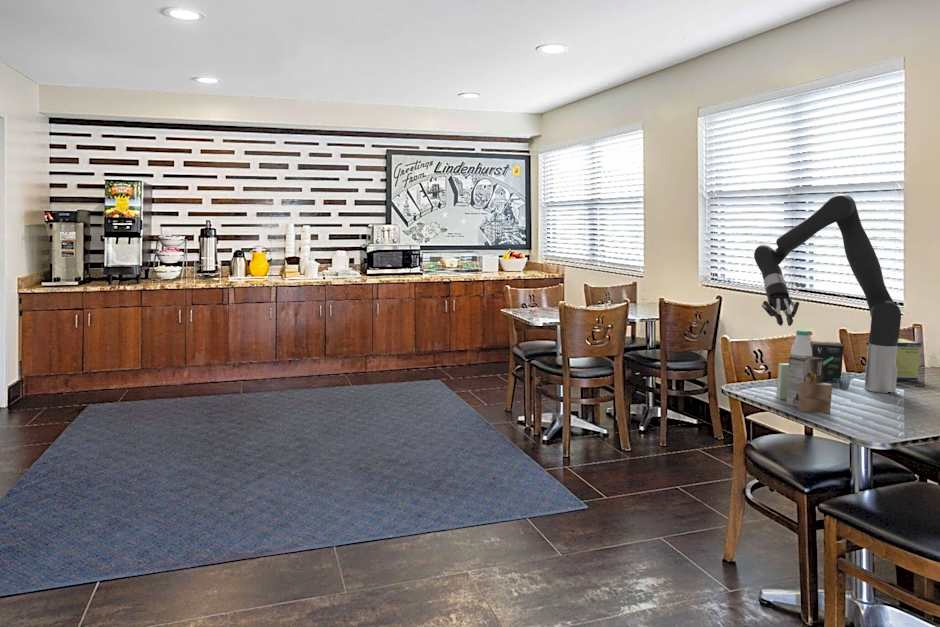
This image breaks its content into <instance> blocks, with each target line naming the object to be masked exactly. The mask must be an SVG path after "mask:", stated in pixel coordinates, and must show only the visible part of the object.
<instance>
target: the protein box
mask: <svg viewBox="0 0 940 627" xmlns="http://www.w3.org/2000/svg"><path fill="white" fill-rule="evenodd" d="M921 347H922V342H918V341H914V340H910V339H907V338H898V343H897V353H896V364H895V366H897V367H898V371H897V380H917V381H918V377H919V369H920V368H919V366H920V359H921V358H920V356H921Z"/></svg>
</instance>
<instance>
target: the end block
mask: <svg viewBox="0 0 940 627" xmlns="http://www.w3.org/2000/svg"><path fill="white" fill-rule="evenodd" d="M832 394H833V384H831V383H830V382H822V383H807V382H800V386H799V399H798V407H797V411H799V412H801V413H824V412H827V413H828V412H830V413H831V407H832V406H831V404H832Z"/></svg>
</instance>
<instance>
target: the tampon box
mask: <svg viewBox="0 0 940 627" xmlns="http://www.w3.org/2000/svg"><path fill="white" fill-rule="evenodd" d="M809 344H810V346H811V349H812V356H813V357H818V358H823V371H822V382H826V381H830V382H829V383H839V382H840V383H841V381H842V372H843V371H842V370H843V361H844V360H843V359H844V358H843V357H844V345H843V343H841V342H837V341H836V342H835V341H834V342H833V341H816V340H815V341H813V340H811V341H810V343H809ZM832 381H833V382H832ZM834 381H835V382H834ZM837 381H839V382H837Z"/></svg>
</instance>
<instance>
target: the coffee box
mask: <svg viewBox="0 0 940 627" xmlns="http://www.w3.org/2000/svg"><path fill="white" fill-rule="evenodd" d="M788 360H789V362H788V363H789V374H788V390H787V399H786V404H787V405H789V404H790V405H789V406H793V405H794V406H793V407H797V408H798V399H799V386H800V382H807V383H823V381H822V371H823V358H818V357H813V356H798V357H790V356H789V359H788Z"/></svg>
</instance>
